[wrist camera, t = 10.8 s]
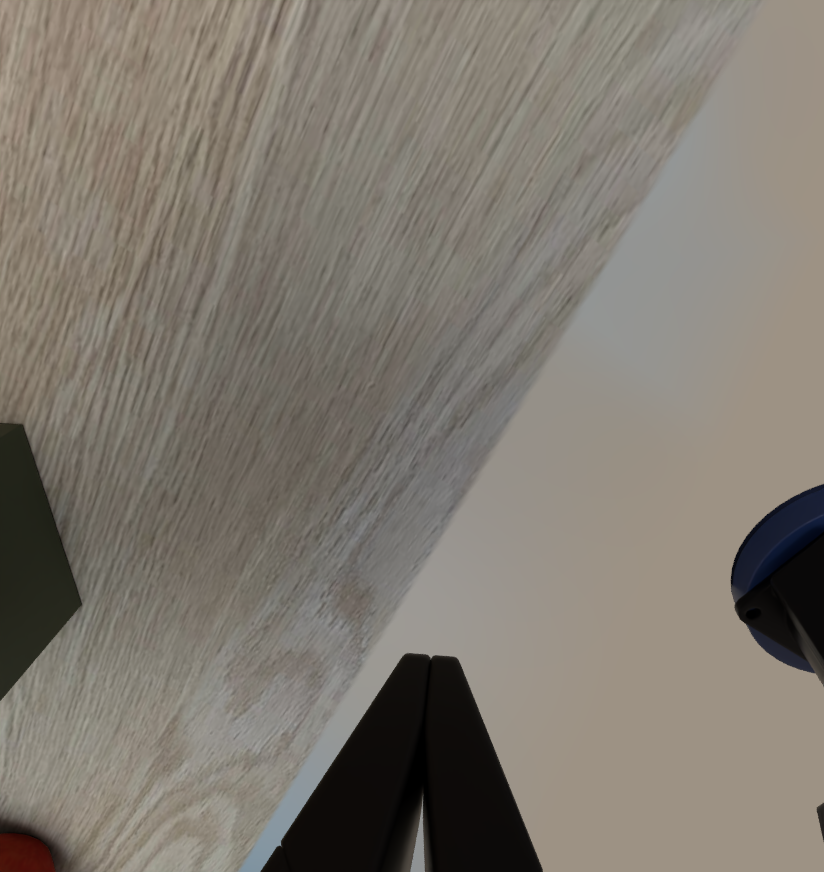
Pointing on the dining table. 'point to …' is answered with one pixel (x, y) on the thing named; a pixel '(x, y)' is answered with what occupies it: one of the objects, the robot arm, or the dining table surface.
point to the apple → (24, 854)
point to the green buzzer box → (28, 563)
